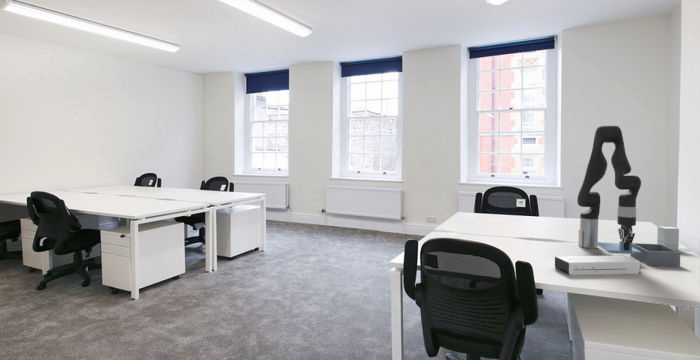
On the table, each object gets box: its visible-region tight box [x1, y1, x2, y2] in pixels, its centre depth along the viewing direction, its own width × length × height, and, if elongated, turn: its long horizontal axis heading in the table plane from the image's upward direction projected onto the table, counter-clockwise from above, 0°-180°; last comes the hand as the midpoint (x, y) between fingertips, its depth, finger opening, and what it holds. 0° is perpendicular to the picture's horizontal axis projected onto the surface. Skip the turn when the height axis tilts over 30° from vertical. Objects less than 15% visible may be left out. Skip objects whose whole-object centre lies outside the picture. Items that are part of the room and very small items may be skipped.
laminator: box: [554, 254, 641, 276], centre depth 184 cm, size 34×12×6 cm, turn 92°
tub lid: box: [595, 240, 641, 255], centre depth 201 cm, size 15×21×7 cm
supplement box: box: [656, 226, 680, 251], centre depth 223 cm, size 7×7×13 cm
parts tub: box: [630, 242, 681, 267], centre depth 199 cm, size 14×18×7 cm
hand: (625, 249), depth 192 cm, fingers closed on tub lid, 1 cm apart
